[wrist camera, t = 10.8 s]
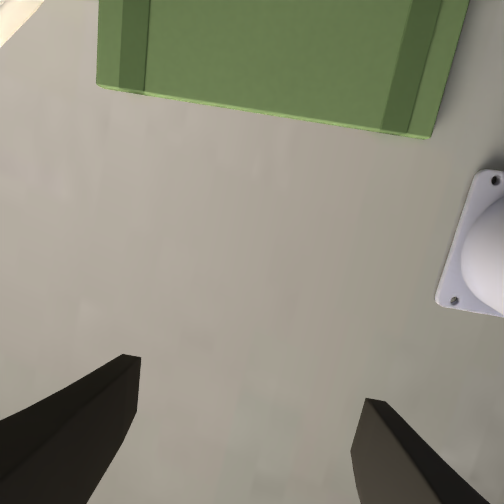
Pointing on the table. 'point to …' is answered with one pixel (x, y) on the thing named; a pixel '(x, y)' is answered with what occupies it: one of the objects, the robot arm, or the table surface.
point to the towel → (288, 57)
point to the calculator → (15, 16)
